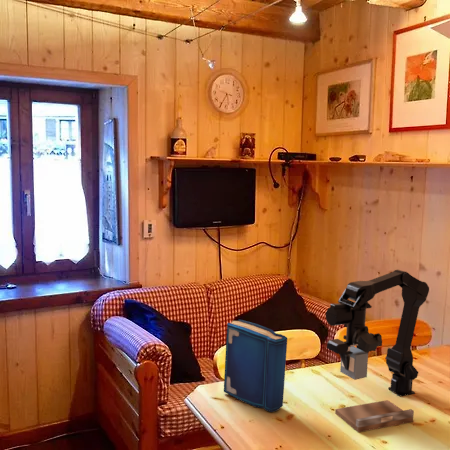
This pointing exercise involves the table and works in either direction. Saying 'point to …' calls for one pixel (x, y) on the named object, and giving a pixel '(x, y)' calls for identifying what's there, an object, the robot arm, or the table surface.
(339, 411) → the shelf board
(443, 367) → the table surface
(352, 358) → the carton
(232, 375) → the book
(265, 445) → the table surface
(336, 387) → the table surface
